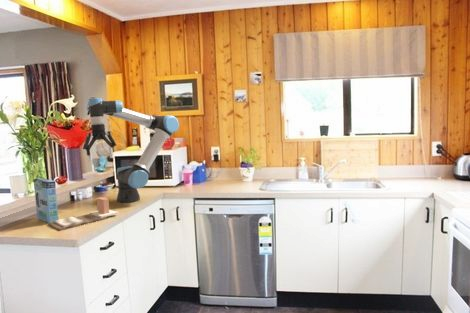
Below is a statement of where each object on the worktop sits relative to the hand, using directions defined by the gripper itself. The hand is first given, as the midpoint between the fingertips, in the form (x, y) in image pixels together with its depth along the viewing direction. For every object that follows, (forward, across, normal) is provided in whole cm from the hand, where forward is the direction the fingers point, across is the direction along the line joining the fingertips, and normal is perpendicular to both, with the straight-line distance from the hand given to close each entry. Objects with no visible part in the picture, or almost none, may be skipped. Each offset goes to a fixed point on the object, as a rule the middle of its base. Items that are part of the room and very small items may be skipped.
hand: (101, 159), depth 220 cm
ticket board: (+31, +24, +12) cm, 40 cm away
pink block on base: (+30, +9, +12) cm, 33 cm away
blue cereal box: (+31, +31, -8) cm, 45 cm away
